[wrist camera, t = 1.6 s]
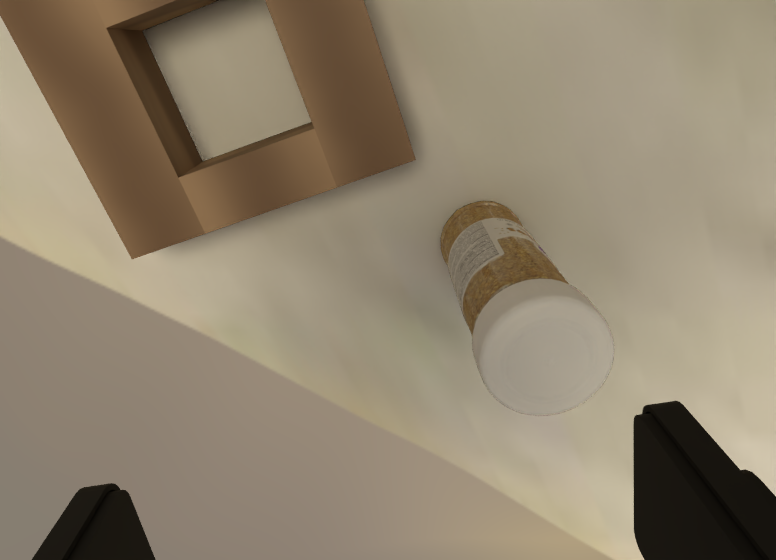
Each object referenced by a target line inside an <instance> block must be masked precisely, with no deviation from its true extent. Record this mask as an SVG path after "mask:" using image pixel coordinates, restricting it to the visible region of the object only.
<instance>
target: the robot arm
mask: <svg viewBox="0 0 776 560" xmlns="http://www.w3.org/2000/svg"><path fill="white" fill-rule="evenodd" d="M634 533H635V538H636V542H637V545H638V547H639V550H640V552H641V554H642V556H643V557H644V559H645V560H776V496H775V495H774V494H773V493H772V492H771V491H770V490H769V489H768V488H767V486H766V485H765V484H764V483H763V482H762V481H761V480H760V479H759V478H758V477H757V476H756V475H755V474H754V473H752V472H750V471H748V470H740V469H739V468H738V467H737V466H736V465H735V464H734V462H733V461H732V460H731V459H730V458H729V457H728V456H727V454H726V453H725V452H724V451H723V450H722V449H721V448H720V446H719V445H718V444H717V443H716V442H715V441H714V440H713V439H712V437H711V436H710V435H709V434H708V433H707V432H706V431H705V429H704V428H703V427H702V426H701V425H700V424H699V423H698V421H697V420H696V419H695V418H694V417H693V416H692V415H691V413H690V412H689V411H688V410H687V409H686V408H685V407H684V405H683V404H681V403H680V402H678V401H672V402H665V403H659V404H652V405H646V406H644V408H643V412H642V414H641V415H636V416H635V417H634ZM32 560H155V557H154V555H153V552H152V550H151V547H150V545H149V542H148V540H147V537H146V535H145V532H144V530H143V527H142V525H141V522H140V520H139V517H138V515H137V512H136V510H135V507H134V505H133V503H132V500H131V497H130V496H129V493H128V492H127V491H126V490H120V488H119V487H118V486H117V485H116V484H112V483H111V484H104V485H98V486H91V487H84V488H82V489H80V490H79V491H78V492H77V493H76V494H75V496H74V497H73V498H72V500H71V501H70V503H69V505H68V506H67V508H66V509H65V511H64V512H63V514H62V515H61V517H60V518H59V520H58V521H57V523H56V524H55V526H54V527H53V529H52V530H51V532H50V533H49V535H48V536H47V538H46V539H45V541H44V542H43V544H42V545H41V547H40V548H39V550H38V551H37V553H36V554H35V556H34V557H33V559H32Z"/></svg>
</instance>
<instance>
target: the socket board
mask: <svg viewBox="0 0 776 560" xmlns="http://www.w3.org/2000/svg"><path fill="white" fill-rule="evenodd" d="M216 1H219V0H0V16H1V18H2V19H3V21H4V23H5V25H6V27H7V29H8V31H9V32H10V34H11V36H12V38H13V40H14V42H15V44H16V45H17V47H18V49H19V51H20V53H21V55H22V56H23V58H24V60H25V62H26V64H27V66H28V68H29V69H30V71H31V73H32V75H33V77H34V79H35V81H36V82H37V84H38V86H39V88H40V90H41V92H42V93H43V95H44V97H45V99H46V101H47V103H48V105H49V106H50V108H51V110H52V112H53V114H54V116H55V118H56V119H57V121H58V123H59V125H60V127H61V129H62V130H63V132H64V134H65V136H66V138H67V140H68V142H69V143H70V145H71V147H72V149H73V151H74V153H75V155H76V156H77V158H78V160H79V162H80V164H81V166H82V167H83V169H84V171H85V173H86V175H87V177H88V179H89V180H90V182H91V184H92V186H93V188H94V190H95V192H96V193H97V195H98V197H99V199H100V201H101V203H102V204H103V206H104V208H105V210H106V212H107V214H108V216H109V217H110V219H111V221H112V223H113V225H114V227H115V229H116V230H117V232H118V234H119V236H120V238H121V240H122V242H123V243H124V245H125V247H126V249H127V251H128V253H129V254H130V256H131V258H132V259H134V258H137V257H140V256H143V255H146V254H149V253H151V252H154V251H157V250H160V249H163V248H166V247H168V246H171V245H174V244H177V243H180V242H183V241H186V240H188V239H191V238H194V237H197V236H200V235H203V234H206V233H208V232H211V231H214V230H217V229H220V228H223V227H226V226H228V225H231V224H234V223H237V222H240V221H243V220H245V219H248V218H251V217H254V216H257V215H260V214H263V213H265V212H268V211H271V210H274V209H277V208H280V207H283V206H285V205H288V204H291V203H294V202H297V201H300V200H303V199H305V198H308V197H311V196H314V195H317V194H320V193H323V192H325V191H328V190H331V189H334V188H337V187H340V186H342V185H345V184H348V183H351V182H354V181H357V180H360V179H362V178H365V177H368V176H371V175H374V174H377V173H380V172H382V171H385V170H388V169H391V168H394V167H397V166H400V165H402V164H405V163H408V162H411V161H414V160H416V159H415V156H414V153H413V150H412V147H411V144H410V141H409V137H408V134H407V131H406V128H405V125H404V122H403V119H402V116H401V113H400V110H399V107H398V104H397V101H396V98H395V95H394V92H393V89H392V85H391V82H390V79H389V76H388V73H387V70H386V67H385V64H384V61H383V58H382V55H381V52H380V49H379V46H378V43H377V40H376V37H375V33H374V30H373V27H372V24H371V21H370V18H369V15H368V12H367V9H366V6H365V3H364V0H265V1H266V4H267V6H268V9H269V12H270V14H271V17H272V19H273V22H274V25H275V27H276V30H277V32H278V35H279V38H280V40H281V43H282V45H283V48H284V51H285V53H286V56H287V58H288V61H289V64H290V66H291V69H292V72H293V74H294V77H295V79H296V82H297V85H298V87H299V90H300V92H301V95H302V98H303V100H304V103H305V105H306V108H307V111H308V113H309V116H310V118H311V121H312V122H310V123H308V124H305V125H302V126H299V127H297V128H294V129H291V130H288V131H286V132H283V133H280V134H277V135H275V136H272V137H269V138H266V139H264V140H261V141H258V142H255V143H253V144H250V145H247V146H244V147H242V148H239V149H236V150H233V151H231V152H228V153H225V154H222V155H220V156H217V157H214V158H211V159H209V160H206V161H203V162H202V160H201V158H200V155H199V153H198V151H197V149H196V147H195V145H194V142H193V140H192V138H191V136H190V134H189V132H188V129H187V127H186V125H185V123H184V121H183V119H182V117H181V114H180V112H179V110H178V108H177V106H176V104H175V101H174V99H173V97H172V95H171V93H170V91H169V88H168V86H167V84H166V82H165V80H164V78H163V75H162V73H161V71H160V69H159V67H158V65H157V62H156V60H155V58H154V56H153V54H152V52H151V49H150V47H149V45H148V43H147V41H146V39H145V37H144V34H143V32H142V30H145V29H147V28H150V27H153V26H155V25H158V24H160V23H163V22H165V21H168V20H170V19H173V18H175V17H178V16H181V15H183V14H186V13H188V12H191V11H193V10H196V9H198V8H201V7H204V6H206V5H209V4H211V3H214V2H216Z"/></svg>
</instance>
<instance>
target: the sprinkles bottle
mask: <svg viewBox="0 0 776 560" xmlns="http://www.w3.org/2000/svg"><path fill="white" fill-rule="evenodd" d="M441 251H442V255H443V258H444V260H445V262H446V264H447V265H448V267H449V272H450V276H451V279H452V282H453V285H454V288H455V292H456V295H457V298H458V301H459V304H460V307H461V310H462V313H463V316H464V318H465V321H466V323H467V325H468V326H469V329H470V331H471V334H472V347H473V353H474V357H475V360H476V363H477V367H478V370H479V372H480V374H481V377H482V379H483V382H484V384H485V385H486V387H487V389H488V391H489V392H490V393H491V394H492V395H493V397H494V398H496V399H497V400H498V401H499V402H500V403H502V404H503V405H504V406H506V407H508V408H510V409H512V410H514V411H517V412H519V413H523V414H527V415H535V416H545V415H554V414H559V413H562V412H565V411H568V410H571V409H573V408H575V407H577V406H579V405H581V404H582V403H584V402H585V401H587V400H588V399H589V398H590V397H592V396H593V395H594V394H595V393H596V392H597V391H598V390H599V388H600V387H601V386H602V385H603V383H604V382H605V380H606V378H607V377H608V375H609V372H610V370H611V367H612V363H613V359H614V341H613V336H612V333H611V330H610V328H609V325H608V324H607V322H606V320H605V319H604V318H603V316H602V315H601V314H600V312H599V311H598V310H597V308H596V307H595V306H594V305H593V304H592V303H591V301H590V300H589V299H588V298H587V297H586V296H585V295H584V294H583V293H582V292H580V291H579V290H578V289H576V288H575V287H573V286H571V285H569V283H568V282H567V281H566V280H565V279H564V277H563V276H562V275H561V274H560V273H559V271H558V269H557V268H556V266H555V265H554V264H553V262H552V261H551V260H550V259H549V257H548V256H547V255H546V253H545V252H544V251H543V250H542V248H541V247H540V246H539V245H538V244H537V243H536V241H535V240H534V239H533V238H532V236H531V235H530V234H529V233H528V231H527V230H526V229H525V228H523V226H522V224H521V222H520V221H519V219H518V218H517V216H516V215H515V214H514V213H513V212H512V211H511V210H509V209H508V208H507V207H505V206H503V205H500V204H498V203H495V202H488V201H480V202H476V203H471V204H469V205H467V206H464V207H463V208H461V209H459V210H457V211H456V212H455V213H454V214H453V215H452V216H451V217H450V218H449V220H448V221H447V223H446V225H445V226H444V228H443V232H442V235H441Z"/></svg>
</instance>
